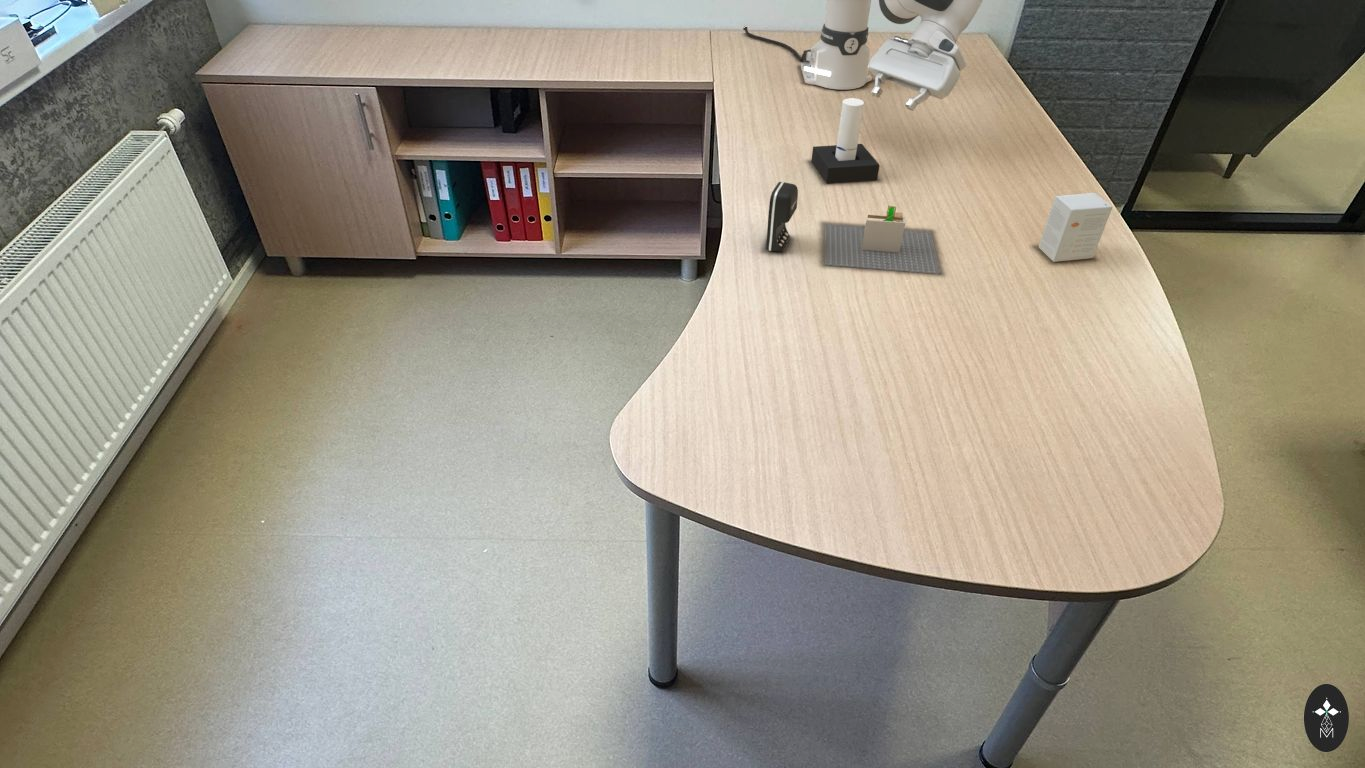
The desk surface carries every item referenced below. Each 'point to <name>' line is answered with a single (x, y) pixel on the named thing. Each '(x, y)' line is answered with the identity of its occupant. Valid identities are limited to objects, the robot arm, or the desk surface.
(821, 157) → the socket pad
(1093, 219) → the small box
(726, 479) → the desk surface
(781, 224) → the black plastic handset
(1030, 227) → the desk surface
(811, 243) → the desk surface
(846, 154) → the tube
